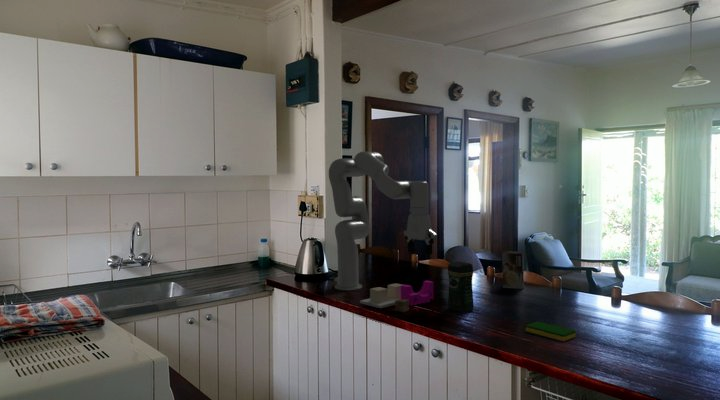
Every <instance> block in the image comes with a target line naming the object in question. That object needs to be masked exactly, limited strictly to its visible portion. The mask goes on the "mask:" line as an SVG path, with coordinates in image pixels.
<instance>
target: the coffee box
mask: <svg viewBox="0 0 720 400" xmlns="http://www.w3.org/2000/svg"><path fill="white" fill-rule="evenodd" d="M501 256H502V258H501V259H502V288H503V289H519V290H524V288H525V280H524V279H525V277H524V276H525V272H524V269H525V268H524V263H525V262H524V251H508V250H507V251H506V250H505V251H504V250H503V252H502V255H501Z"/></svg>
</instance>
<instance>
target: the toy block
mask: <svg viewBox="0 0 720 400" xmlns="http://www.w3.org/2000/svg"><path fill="white" fill-rule="evenodd" d="M434 289H435V288H434V281H431V280H423V284H422V286H421V288H420V290H419V291H418V292H415V291H414V290H413V285H408V284H402V285H401V299H406V300H409V305H411V306H410V307H413V306H412V305H415V306H418V305H417V304H419V305H422V304H421V303H423V304H427V303H426V302H428V303H431V302H430V301H431V300H430V299H432V300H434V297H435V296H434V294H435V293H434Z"/></svg>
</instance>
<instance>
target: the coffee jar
mask: <svg viewBox="0 0 720 400" xmlns="http://www.w3.org/2000/svg"><path fill="white" fill-rule="evenodd" d="M447 274H448V275H447V276H448V299H447V308H448V309H450V310H453V311H456V312H466V313H467V312H471V311H473V310H474V296H473V294H474V292H473V276H474V266H473V264H472V263H470V262H465V261H460V260H459V261H458V260H454V261H449V263H448V266H447Z"/></svg>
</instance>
